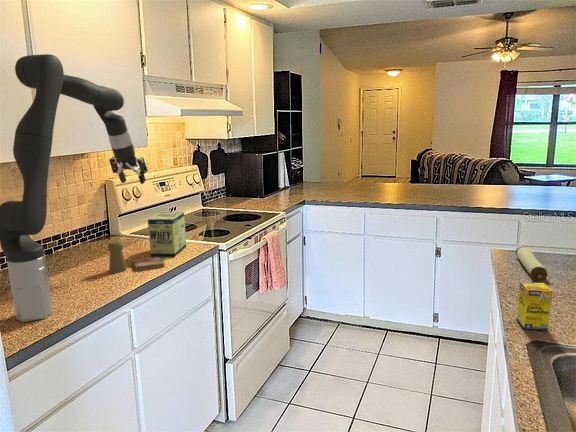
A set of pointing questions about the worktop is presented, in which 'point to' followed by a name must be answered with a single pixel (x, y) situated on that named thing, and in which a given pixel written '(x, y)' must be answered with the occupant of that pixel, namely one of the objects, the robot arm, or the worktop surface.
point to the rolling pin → (531, 263)
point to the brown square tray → (148, 263)
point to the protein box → (167, 234)
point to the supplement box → (534, 306)
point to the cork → (116, 257)
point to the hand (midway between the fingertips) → (133, 182)
